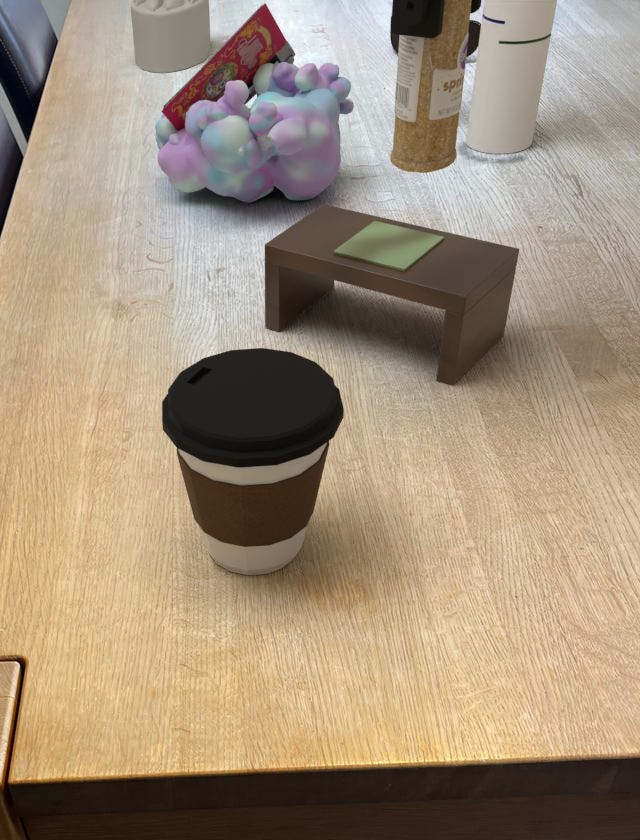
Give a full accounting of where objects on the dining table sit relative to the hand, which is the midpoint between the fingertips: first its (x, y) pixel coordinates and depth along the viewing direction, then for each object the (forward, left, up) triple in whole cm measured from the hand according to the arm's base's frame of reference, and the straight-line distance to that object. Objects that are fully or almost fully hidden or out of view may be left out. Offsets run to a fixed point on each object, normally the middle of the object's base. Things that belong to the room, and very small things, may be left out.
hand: (436, 19), depth 64 cm
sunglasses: (+35, -77, -25) cm, 88 cm away
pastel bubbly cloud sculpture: (+32, -25, -25) cm, 48 cm away
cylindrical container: (+14, -48, -25) cm, 56 cm away
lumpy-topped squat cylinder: (+68, -57, -25) cm, 92 cm away
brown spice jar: (0, 0, -9) cm, 9 cm away
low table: (+4, -5, -25) cm, 26 cm away
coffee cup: (-3, +24, -25) cm, 35 cm away
